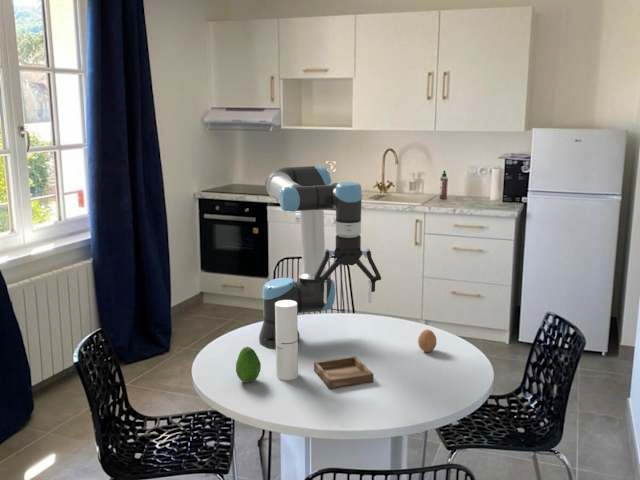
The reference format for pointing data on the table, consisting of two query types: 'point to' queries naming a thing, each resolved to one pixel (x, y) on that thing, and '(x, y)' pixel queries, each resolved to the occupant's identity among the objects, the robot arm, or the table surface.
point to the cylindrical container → (286, 339)
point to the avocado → (248, 365)
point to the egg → (427, 340)
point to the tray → (343, 372)
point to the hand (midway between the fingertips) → (347, 301)
